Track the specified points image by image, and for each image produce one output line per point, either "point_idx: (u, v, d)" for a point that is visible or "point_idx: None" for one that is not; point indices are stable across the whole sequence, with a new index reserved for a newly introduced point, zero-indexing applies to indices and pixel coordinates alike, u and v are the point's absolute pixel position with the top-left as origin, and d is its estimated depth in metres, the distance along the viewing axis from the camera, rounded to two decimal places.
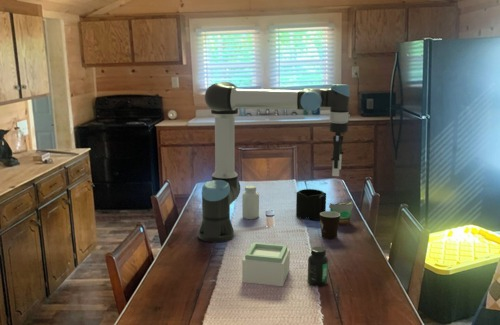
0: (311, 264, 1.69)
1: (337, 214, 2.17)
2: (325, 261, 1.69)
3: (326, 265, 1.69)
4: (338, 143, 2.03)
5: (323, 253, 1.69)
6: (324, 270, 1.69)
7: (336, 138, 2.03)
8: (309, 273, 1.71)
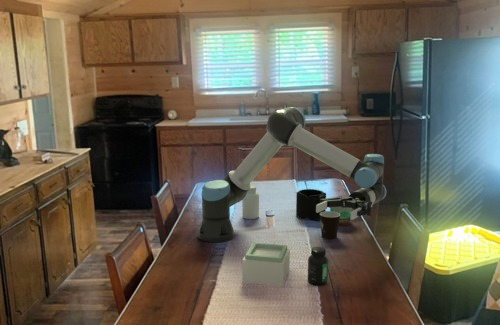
0: (311, 264, 1.69)
1: (337, 214, 2.17)
2: (325, 261, 1.69)
3: (326, 265, 1.69)
4: None
5: (323, 253, 1.69)
6: (324, 270, 1.69)
7: (371, 204, 1.84)
8: (309, 273, 1.71)
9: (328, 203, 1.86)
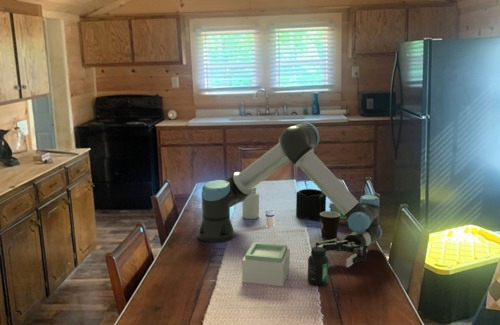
0: (311, 264, 1.69)
1: (337, 214, 2.17)
2: (325, 261, 1.69)
3: (326, 265, 1.69)
4: (365, 253, 1.83)
5: (323, 253, 1.69)
6: (324, 270, 1.69)
7: (367, 249, 1.84)
8: (309, 273, 1.71)
9: (324, 247, 1.87)
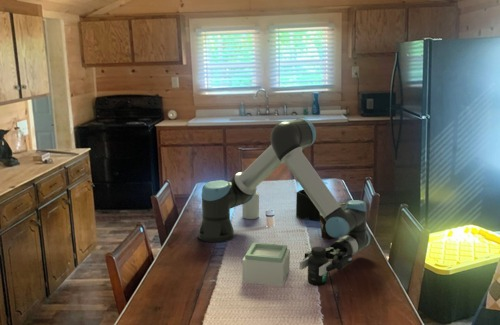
0: (311, 264, 1.69)
1: None
2: (325, 261, 1.69)
3: None
4: (347, 262, 1.75)
5: (323, 253, 1.69)
6: None
7: (350, 258, 1.76)
8: (309, 273, 1.71)
9: None
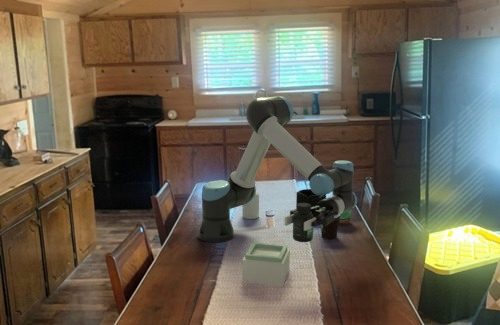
0: (297, 219, 1.67)
1: None
2: (310, 216, 1.67)
3: None
4: (333, 219, 1.73)
5: (308, 208, 1.67)
6: None
7: (336, 215, 1.74)
8: (294, 229, 1.68)
9: None
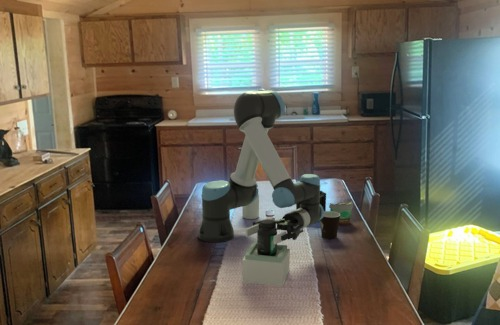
0: (260, 236, 1.72)
1: (337, 214, 2.17)
2: (273, 233, 1.72)
3: None
4: (299, 232, 1.78)
5: (271, 225, 1.72)
6: (272, 242, 1.72)
7: (302, 228, 1.80)
8: (258, 245, 1.74)
9: None
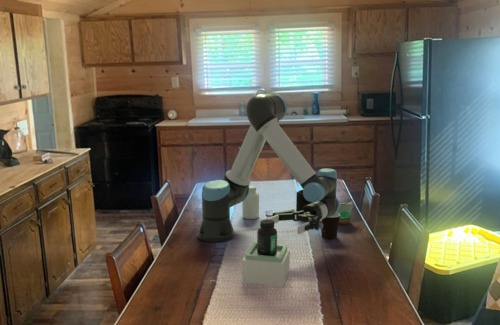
0: (260, 236, 1.72)
1: (337, 214, 2.17)
2: (273, 233, 1.72)
3: (274, 237, 1.72)
4: (319, 222, 1.88)
5: (271, 225, 1.72)
6: (272, 242, 1.72)
7: (321, 219, 1.90)
8: (258, 245, 1.74)
9: (280, 217, 1.92)
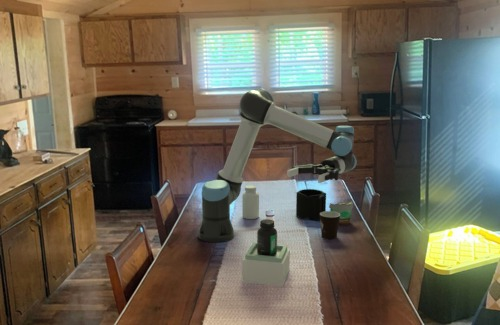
0: (260, 236, 1.72)
1: (337, 214, 2.17)
2: (273, 233, 1.72)
3: (274, 237, 1.72)
4: None
5: (271, 225, 1.72)
6: (272, 242, 1.72)
7: (340, 171, 1.95)
8: (258, 245, 1.74)
9: (299, 170, 1.98)
